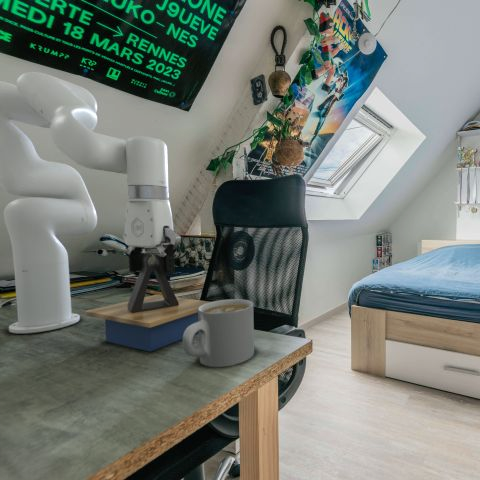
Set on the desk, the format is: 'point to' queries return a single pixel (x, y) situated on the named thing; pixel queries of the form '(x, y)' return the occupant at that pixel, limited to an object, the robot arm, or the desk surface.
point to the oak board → (147, 312)
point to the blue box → (148, 333)
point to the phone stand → (141, 287)
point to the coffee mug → (222, 333)
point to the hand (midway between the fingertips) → (151, 272)
